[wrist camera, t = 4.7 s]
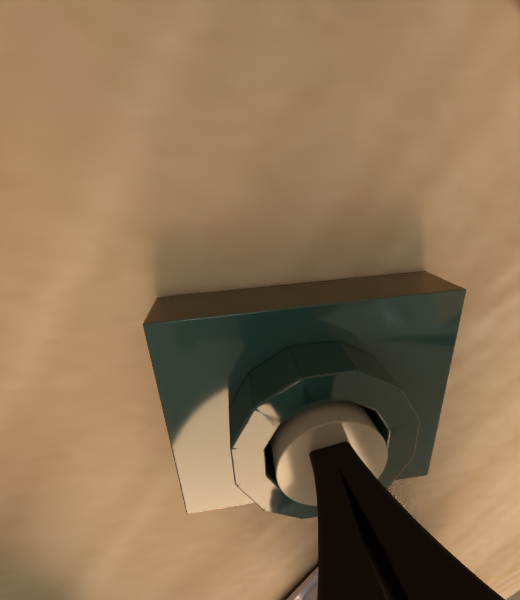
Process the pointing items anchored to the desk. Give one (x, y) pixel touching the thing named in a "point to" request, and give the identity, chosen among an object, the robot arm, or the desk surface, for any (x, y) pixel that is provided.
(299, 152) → the desk surface
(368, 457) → the cream cylinder plug
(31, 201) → the desk surface
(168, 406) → the button base
